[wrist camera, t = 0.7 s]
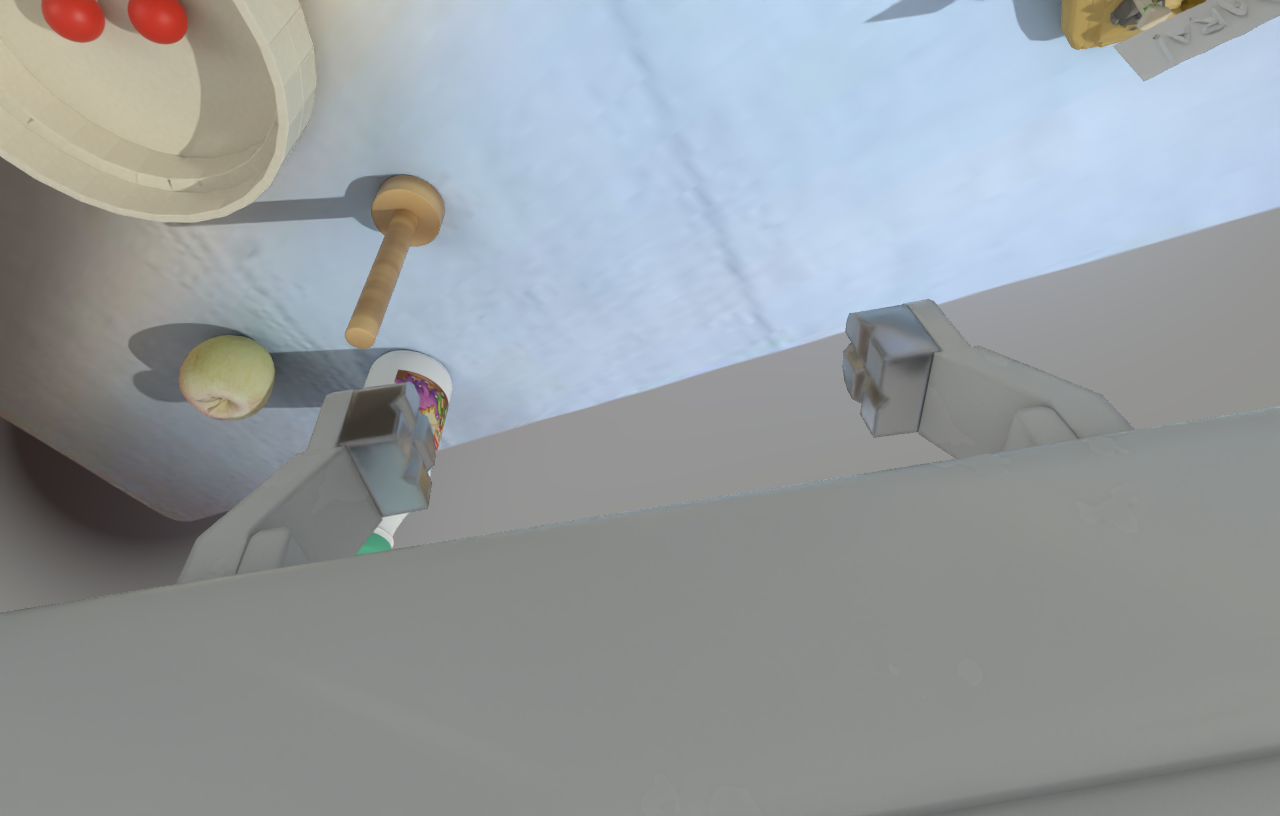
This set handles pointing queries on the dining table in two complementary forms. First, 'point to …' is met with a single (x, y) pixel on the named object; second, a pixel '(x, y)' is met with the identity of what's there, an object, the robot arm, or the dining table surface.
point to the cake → (1161, 27)
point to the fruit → (227, 377)
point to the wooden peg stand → (394, 247)
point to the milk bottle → (433, 404)
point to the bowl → (158, 106)
